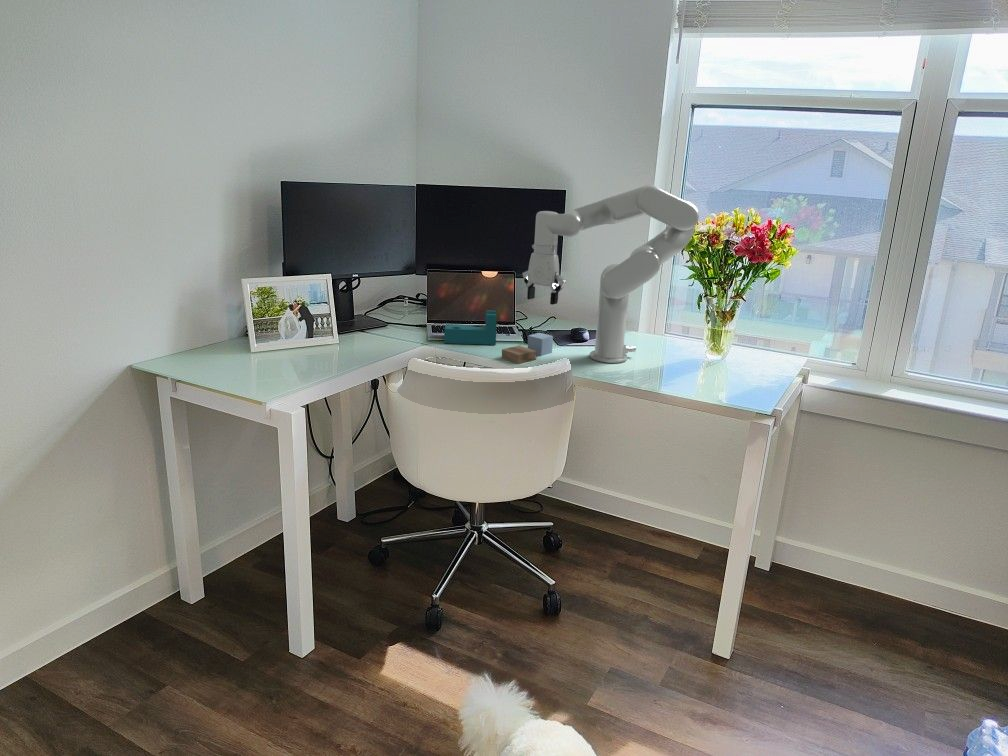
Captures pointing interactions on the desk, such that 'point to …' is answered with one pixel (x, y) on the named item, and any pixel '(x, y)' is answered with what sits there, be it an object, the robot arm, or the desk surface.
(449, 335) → the teal l-shaped bracket
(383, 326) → the desk surface
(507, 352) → the walnut base
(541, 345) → the blue cube
